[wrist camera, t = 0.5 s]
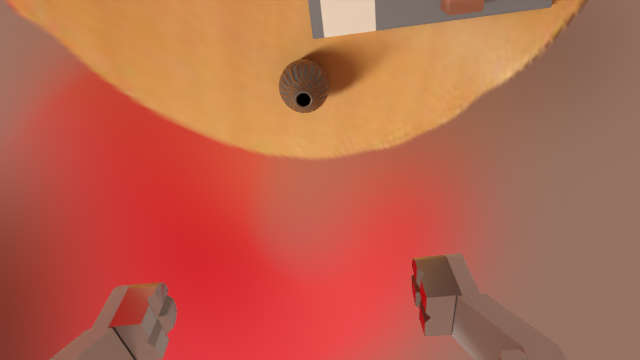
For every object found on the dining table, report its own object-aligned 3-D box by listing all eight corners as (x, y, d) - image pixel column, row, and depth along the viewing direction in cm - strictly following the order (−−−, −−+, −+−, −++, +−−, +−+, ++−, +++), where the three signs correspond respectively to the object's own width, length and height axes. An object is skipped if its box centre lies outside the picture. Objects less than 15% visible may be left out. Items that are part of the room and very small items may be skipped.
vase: (336, 68, 54) (340, 89, 46) (314, 107, 57) (315, 133, 50) (293, 45, 52) (290, 63, 45) (273, 87, 55) (267, 111, 48)
